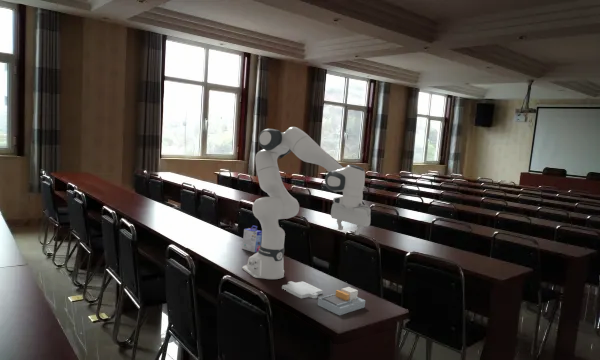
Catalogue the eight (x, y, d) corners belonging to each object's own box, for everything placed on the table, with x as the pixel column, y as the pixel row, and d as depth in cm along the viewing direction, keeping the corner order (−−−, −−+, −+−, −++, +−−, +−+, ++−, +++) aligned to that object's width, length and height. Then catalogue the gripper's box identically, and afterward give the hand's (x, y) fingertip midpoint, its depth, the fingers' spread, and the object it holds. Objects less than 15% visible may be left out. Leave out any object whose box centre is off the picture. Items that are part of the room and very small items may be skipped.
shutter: (323, 299, 180) (324, 292, 180) (336, 296, 186) (337, 289, 185) (336, 305, 175) (337, 298, 175) (349, 301, 180) (350, 295, 180)
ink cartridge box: (260, 251, 254) (263, 227, 253) (255, 253, 249) (257, 228, 248) (247, 247, 259) (249, 223, 258) (241, 249, 254) (244, 225, 253)
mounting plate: (278, 287, 198) (278, 283, 198) (299, 283, 207) (299, 279, 207) (304, 301, 185) (305, 297, 185) (326, 296, 194) (326, 292, 194)
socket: (317, 305, 181) (318, 296, 181) (342, 297, 193) (343, 289, 193) (339, 315, 173) (340, 306, 173) (364, 307, 185) (365, 298, 184)
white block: (339, 303, 186) (341, 288, 185) (347, 301, 190) (348, 286, 189) (348, 307, 183) (350, 292, 182) (356, 305, 186) (357, 290, 185)
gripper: (375, 205, 187) (371, 237, 189) (339, 197, 202) (336, 226, 203) (366, 206, 183) (362, 238, 184) (330, 197, 197) (327, 227, 199)
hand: (348, 232), depth 194 cm, fingers open, 8 cm apart
